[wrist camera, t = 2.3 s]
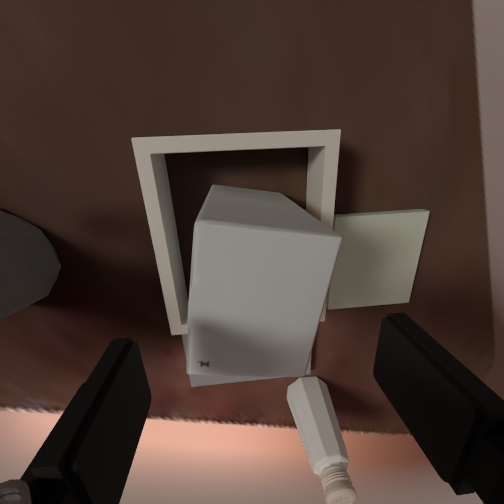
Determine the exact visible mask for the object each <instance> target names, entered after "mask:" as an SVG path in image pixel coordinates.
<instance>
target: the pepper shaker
mask: <svg viewBox="0 0 504 504" xmlns="http://www.w3.org/2000/svg"><path fill="white" fill-rule="evenodd" d="M287 401H288V403H289V406H290V409H291V412H292V415H293V417H294V420H295V423H296V426H297V429H298V432H299V434H300V437H301V440H302V443H303V446H304V448H305V451H306V454H307V457H308V459H309V463H310V465H311V468H312V470H313V472H314V473H315V474H317V475H318V476H320V477H321V480H322V485H323V489H324V491H325V499H326V503H327V504H352V503H353V502H354V501H355V500H356V497H357V493H356V491H355V489H354V487H353V486H352V482H351V480H350V477H349V475H348V474H347V467H348V463H349V459H348V455H347V451H346V448H345V444H344V441H343V438H342V434H341V431H340V428H339V424H338V421H337V418H336V414H335V411H334V408H333V404H332V401H331V398H330V394H329V391H328V388H327V384H325V383H324V382H323V381H322V380H320V379H319V378H318V377H316V376H311V377H300V378H299V379H297V380H296V381H295V382H293V383H292V384H291V385H289V386H288V392H287Z"/></svg>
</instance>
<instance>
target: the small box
mask: <svg viewBox="0 0 504 504" xmlns="http://www.w3.org/2000/svg"><path fill="white" fill-rule="evenodd" d="M342 240H343V238H342V237H341V236H340V235H339V234H337V233H336V232H335V231H333V230H332V229H331V228H329V227H328V226H326V225H325V224H323V223H322V222H321V221H319V220H318V219H316V218H315V217H314V216H312V215H311V214H309V213H308V212H307V211H305V210H304V209H302V208H301V207H300V206H298V205H297V204H295V203H294V202H293V201H291V200H290V199H288V198H287V197H285V196H284V195H283V194H281V193H277V192H269V191H261V190H253V189H245V188H238V187H230V186H222V185H212V186H211V189H210V191H209V193H208V195H207V197H206V199H205V202H204V204H203V206H202V208H201V210H200V212H199V214H198V217H197V219H196V221H195V224H194V233H193V247H192V262H191V276H190V290H189V302H188V319H187V327H188V345H187V374H194V375H213V376H260V377H264V376H268V377H304V376H305V374H306V370H307V367H308V363H309V359H310V355H311V352H312V348H313V345H314V341H315V337H316V334H317V330H318V326H319V322H320V319H321V316H322V312H323V308H324V305H325V301H326V297H327V294H328V290H329V286H330V283H331V279H332V275H333V271H334V268H335V264H336V261H337V257H338V253H339V250H340V246H341V242H342Z"/></svg>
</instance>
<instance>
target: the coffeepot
mask: <svg viewBox="0 0 504 504" xmlns="http://www.w3.org/2000/svg"><path fill="white" fill-rule="evenodd" d="M60 269H61V264H60V262H59V259H58V256H57V254H56V251H55V249H54V247H53V246H52V244H51V243H50V241H49V240H48V238H47V237H46V236H45V235H44V234H43V232H42V230H40V229H39V228H37V227H35V226H34V225H32V224H31V223H29V222H27V221H25V220H24V219H22V218H19V217H17V216H15V215H12V214H9V213H5V212H3V211H1V210H0V320H2V319H3V318H5V317H7V316H9V315H11V314H13V313H15V312H17V311H19V310H21V309H23V308H25V307H27V306H29V305H31V304H33V303H35V302H37V301H39V300H41V299H42V298H44V297H46V296H48V295H49V293H50V291H51V289H52V287H53V285H54V283H55V282H56V280H57V277H58V274H59V271H60Z"/></svg>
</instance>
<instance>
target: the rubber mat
mask: <svg viewBox="0 0 504 504" xmlns="http://www.w3.org/2000/svg"><path fill="white" fill-rule="evenodd" d="M429 212H430V211H427V210H424V209H414V210H399V211H383V212H367V213H352V214H336V215H334V218H333V231H335V232H336V233H337V234H339V235H340V236H341V237H342V238H343V240H342V242H341V246H340V250H339V253H338V257H337V261H336V264H335V268H334V271H333V275H332V279H331V283H330V286H329V290H328V294H327V302H326V308H327V309H328V310H330V309H341V308H352V307H363V306H374V305H385V304H396V303H408V302H409V299H410V295H411V291H412V286H413V282H414V277H415V273H416V269H417V264H418V260H419V256H420V251H421V247H422V243H423V238H424V234H425V230H426V225H427V221H428V217H429Z"/></svg>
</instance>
